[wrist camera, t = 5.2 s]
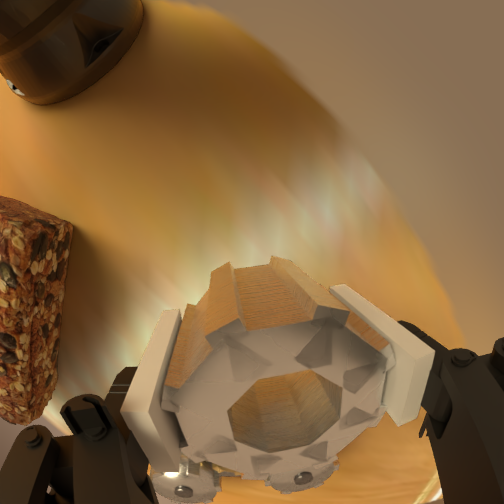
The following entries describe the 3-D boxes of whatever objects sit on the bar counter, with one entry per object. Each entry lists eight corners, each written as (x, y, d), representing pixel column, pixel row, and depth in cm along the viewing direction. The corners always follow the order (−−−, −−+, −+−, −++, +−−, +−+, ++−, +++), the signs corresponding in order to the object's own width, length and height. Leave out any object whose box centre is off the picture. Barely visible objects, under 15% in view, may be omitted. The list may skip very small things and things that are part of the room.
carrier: (108, 343, 22) (74, 390, 15) (328, 315, 24) (368, 357, 16) (167, 472, 26) (161, 518, 18) (324, 452, 27) (343, 496, 20)
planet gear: (173, 269, 12) (133, 329, 6) (325, 248, 12) (404, 285, 6) (201, 393, 13) (197, 486, 7) (328, 372, 14) (377, 449, 8)
